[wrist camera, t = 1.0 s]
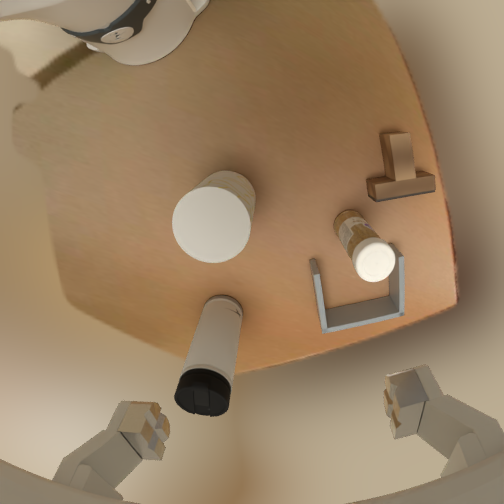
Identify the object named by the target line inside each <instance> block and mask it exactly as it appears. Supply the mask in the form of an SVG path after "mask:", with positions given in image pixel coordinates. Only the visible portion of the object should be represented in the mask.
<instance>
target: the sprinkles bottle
mask: <svg viewBox="0 0 504 504" xmlns="http://www.w3.org/2000/svg"><path fill="white" fill-rule="evenodd" d="M334 230H335V232H336V235H337V236H338V237H339V239H340V241H341V243H342V244H343V246H344V248H345V250H346V252H347V253H348V255H349V257H350V258H351V260H352V262H353V266H354V268H355V270H356V272H357V273H358V275H359V276H360V277H361V278H362V279H364V280H366V281H369V282H377V281H381V280H383V279H385V278H386V277H387V276H388V275H389V274H390V273H391V272H392V270H393V268H394V265H395V254H394V251H393V250H392V248H391V247H390V246H389V245H388V243H387V242H386V241H384V240H383V239H381V238H380V237H379V236H378V235H377V233H376V232H375V231H374V230H373V229H372V228H371V227H370V225H369V224H368V223H367V222H366V221H365V220H364V219H363V217H362V216H361V215H360V214H359V213H358V212H356V211H352V210H349V211H344V212H342V213H341V214H340V215H339V216H338V217H337V218H336V219H335V223H334Z"/></svg>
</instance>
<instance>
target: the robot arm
mask: <svg viewBox="0 0 504 504" xmlns="http://www.w3.org/2000/svg"><path fill="white" fill-rule="evenodd" d="M208 4H209V0H0V22H2V21H8V20H20V19H24V20H34V21H39V22H43V23H47V24H51V25H55V26H58V27H61V28H62V29H63V30H64V31H65V32H66V33H68V34H71V36H73V37H75V38H76V37H77V38H79V39H81V40H83V41H84V42H86V43H87V47H88V48H89V49H91V50H93V51H97V52H104V53H106V54H107V55H109V56H110V57H111V58H113V59H114V60H116V61H117V62H120V63H122V64H126V65H143V64H147V63H151V62H154V61H156V60H158V59H160V58H162V57H164V56H166V55H167V54H169V53H170V52H171V51H173V50H174V49H175V48H176V47H177V46H178V45H179V44H180V43H181V42H182V41H183V39H184V38H185V37H186V35H187V33H188V32H189V30H190V28H191V25H192V23H193V21H194V19H195V18H196V16H197V15H198V14H200V13H201V12H202V11H203V10H204V9H205V8H206V7H207V5H208ZM385 386H386V389H385V391H384V397H383V398H384V407H385V411H386V414H387V416H388V417H390V418H391V420H390V427H391V431H392V434H393V437H394V439H398V438H402V437H406V436H410V435H413V434H417V435H418V436H419V437H421V438H422V439H423V440H424V441H426V442H427V443H428V444H429V445H431V446H432V447H433V448H435V449H436V450H437V451H438V452H440V453H441V454H442V455H443V456H445V457H446V458H447V459H449V460H448V462H447V464H446V466H445V468H444V470H443V471H442V473H441V478H439V479H437V480H434V481H431V482H428V483H425V484H422V485H419V486H416V487H413V488H409V489H406V490H402V491H399V492H395V493H392V494H387V495H384V496H380V497H375V498H371V499H367V500H362V501H357V502H352V503H346V504H504V432H503V430H502V428H501V427H500V425H499V423H498V421H497V420H496V419H494V418H492V417H490V416H488V415H486V414H484V413H482V412H480V411H478V410H476V409H474V408H473V407H470V406H469V405H467V404H465V403H463V402H461V401H459V400H457V399H455V398H453V397H452V396H450V395H448V394H447V395H443V393H442V391H441V389H440V387H439V385H438V383H437V381H436V380H435V377H434V376H433V374H432V372H431V370H430V368H429V366H428V365H426V364H424V365H421V366H418V367H414V368H410V369H407V370H403V371H399V372H396V373H392V374H388V375H386V376H385ZM160 411H161V407H160V406H159V404H158V403H156V402H137V401H121V402H120V403H119V405H118V406H117V408H116V410H115V412H114V414H113V417H112V419H111V421H110V423H109V425H108V427H107V429H106V430H103V431H101V432H100V433H98V434H97V435H95V436H94V437H93V438H91V439H90V440H89V441H87V442H86V443H84V444H83V445H82V446H80V447H79V448H77V449H76V450H74V451H73V452H72V453H70V454H69V455H67V456H66V457H64V458H63V460H62V462H61V464H60V466H59V468H58V470H57V472H56V474H55V476H54V478H53V480H49V479H46V478H43V477H41V476H38V475H36V474H33V473H31V472H28V471H26V470H24V469H21V468H19V467H16V466H14V465H12V464H10V463H8V462H6V461H4V460H1V459H0V504H139V503H133V502H128V501H123V497H122V495H121V494H119V493H118V492H117V491H116V490H115V488H116V487H117V486H118V485H119V484H120V483H121V482H122V481H123V480H124V479H125V478H126V477H127V476H128V474H130V472H132V471H133V470H134V469H135V467H137V465H138V464H139V463H140V462H141V461H142V459H146V460H147V459H148V460H162V457H163V454H164V451H165V448H166V447H165V445H164V443H163V442H165V441H166V440H167V439H168V438H169V434H170V424H169V421H168V419H167V417H166V416H165V415H164V414H162V413H160Z"/></svg>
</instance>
